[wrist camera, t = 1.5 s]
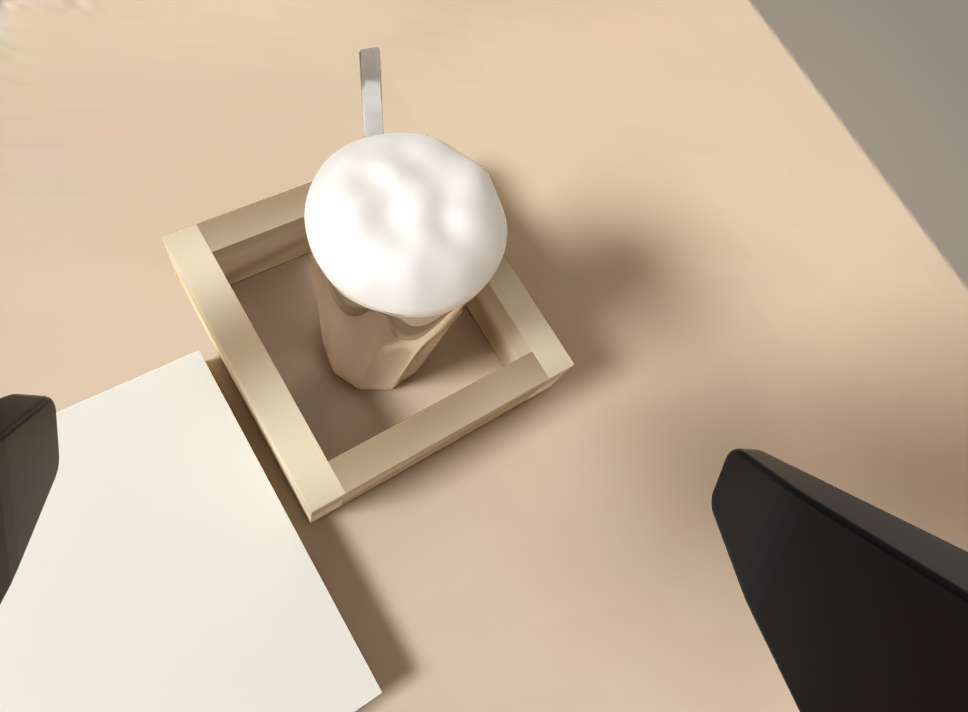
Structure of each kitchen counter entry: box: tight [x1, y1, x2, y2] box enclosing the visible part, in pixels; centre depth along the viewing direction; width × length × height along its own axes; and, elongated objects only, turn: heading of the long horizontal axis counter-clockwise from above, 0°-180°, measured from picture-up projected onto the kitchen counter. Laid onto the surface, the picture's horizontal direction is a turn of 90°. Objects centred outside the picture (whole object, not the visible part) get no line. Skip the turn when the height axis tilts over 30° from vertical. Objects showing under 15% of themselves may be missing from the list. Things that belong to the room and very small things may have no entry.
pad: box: [0, 350, 382, 712], centre depth 19 cm, size 11×8×1 cm
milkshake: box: [304, 48, 507, 390], centre depth 19 cm, size 5×5×10 cm
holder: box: [162, 182, 574, 523], centre depth 22 cm, size 9×9×2 cm
